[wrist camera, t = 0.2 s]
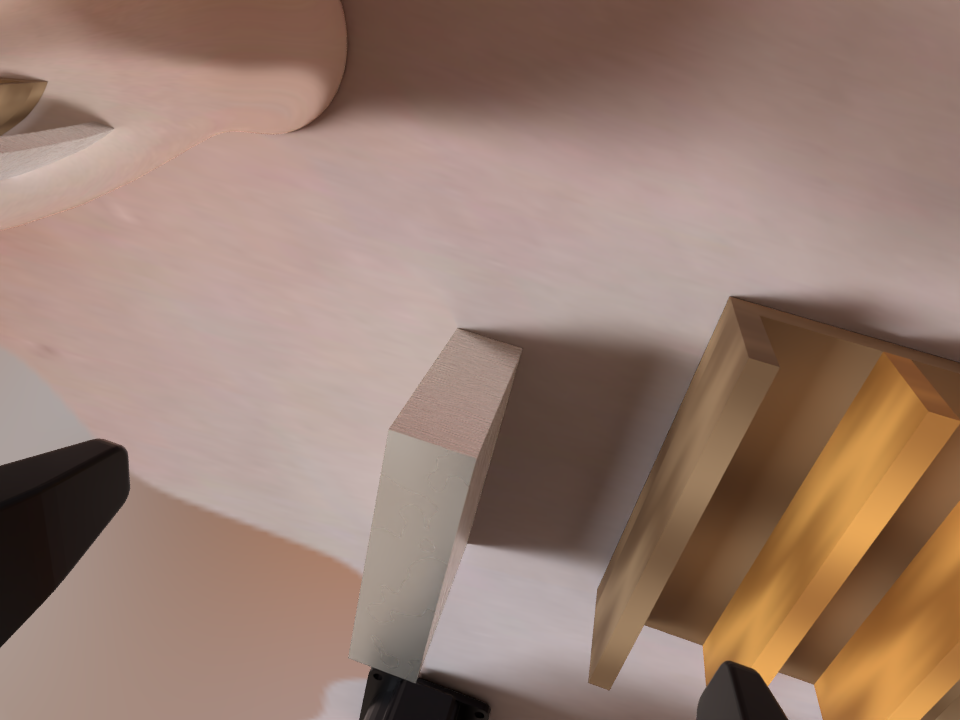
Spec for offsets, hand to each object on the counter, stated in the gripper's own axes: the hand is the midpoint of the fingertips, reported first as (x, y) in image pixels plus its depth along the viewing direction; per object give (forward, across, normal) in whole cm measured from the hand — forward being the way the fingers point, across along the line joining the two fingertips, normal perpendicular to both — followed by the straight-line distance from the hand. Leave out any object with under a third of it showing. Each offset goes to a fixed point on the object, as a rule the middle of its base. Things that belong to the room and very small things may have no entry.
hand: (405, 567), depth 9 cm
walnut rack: (+14, -13, +6) cm, 20 cm away
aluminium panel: (+14, +1, +8) cm, 16 cm away
